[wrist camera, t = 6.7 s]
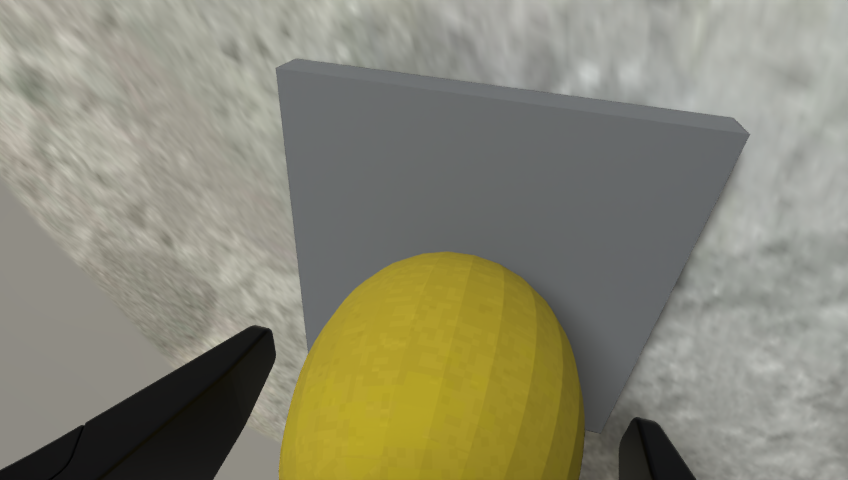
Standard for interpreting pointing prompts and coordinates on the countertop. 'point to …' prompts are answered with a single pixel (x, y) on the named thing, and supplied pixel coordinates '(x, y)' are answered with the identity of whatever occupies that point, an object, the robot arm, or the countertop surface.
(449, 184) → the mat
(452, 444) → the lemon
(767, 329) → the countertop surface
